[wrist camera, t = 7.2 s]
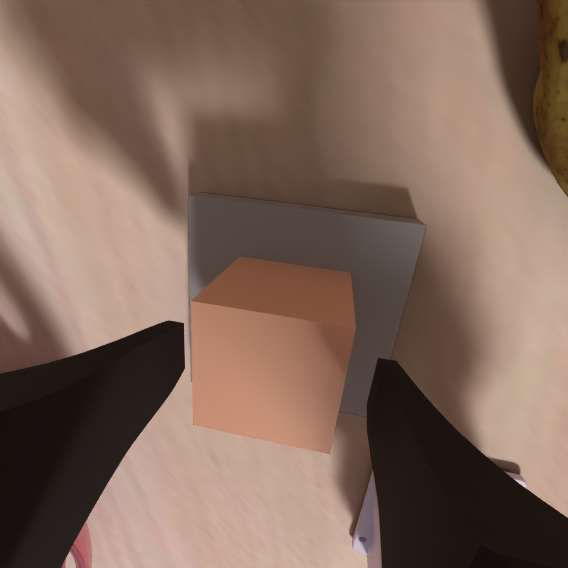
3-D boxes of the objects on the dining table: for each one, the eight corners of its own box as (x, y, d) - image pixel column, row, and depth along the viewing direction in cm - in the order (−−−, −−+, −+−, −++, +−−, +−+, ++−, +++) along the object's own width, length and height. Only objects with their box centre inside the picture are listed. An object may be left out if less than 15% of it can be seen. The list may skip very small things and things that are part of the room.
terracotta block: (333, 367, 15) (330, 454, 11) (235, 350, 16) (192, 424, 11) (350, 272, 14) (356, 327, 9) (239, 256, 14) (191, 300, 10)
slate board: (372, 398, 17) (374, 418, 16) (201, 365, 19) (190, 381, 17) (418, 218, 14) (426, 225, 12) (201, 192, 15) (187, 195, 14)
